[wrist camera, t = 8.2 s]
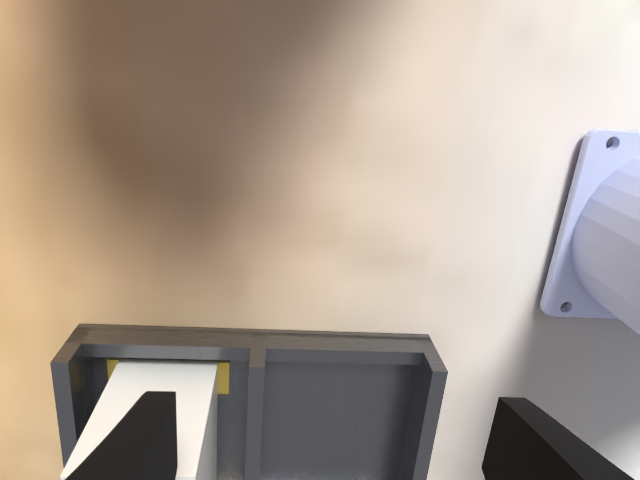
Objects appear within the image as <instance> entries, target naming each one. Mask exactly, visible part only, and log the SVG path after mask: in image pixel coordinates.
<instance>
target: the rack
mask: <svg viewBox="0 0 640 480" xmlns="http://www.w3.org/2000/svg"><path fill="white" fill-rule="evenodd" d="M119 359H141V360H177V361H213V362H218V403H217V477H216V480H426V478H427V473H428V468H429V463H430V459H431V454H432V449H433V444H434V439H435V434H436V429H437V424H438V419H439V414H440V409H441V404H442V399H443V394H444V389H445V384H446V379H447V374H448V371H447V369H446V367H445V365H444V364H443V362H442V360H441V358H440V356H439V354H438V352H437V350H436V348H435V346H434V344H433V343H432V341H431V339H430V337H429V335H427V334H395V333H362V332H330V331H297V330H265V329H232V328H200V327H167V326H135V325H102V324H79V325H78V326H77V327H76V329H75V330H74V331H73V333H72V334H71V335H70V337H69V338H68V340H67V341H66V342H65V344H64V345H63V346H62V348H61V349H60V350H59V352H58V353H57V354H56V356H55V357H54V359H53V360H52V361H51V371H52V379H53V387H54V394H55V402H56V410H57V418H58V426H59V434H60V441H61V449H62V457H63V465H64V468H65V466H66V464H67V462H68V460H69V458H70V456H71V454H72V452H73V450H74V448H75V446H76V444H77V442H78V440H79V438H80V436H81V434H82V432H83V430H84V428H85V426H86V424H87V422H88V420H89V418H90V417H91V415H92V413H93V411H94V409H95V407H96V405H97V403H98V401H99V399H100V397H101V395H102V393H103V391H104V389H105V387H106V385H107V383H108V381H109V379H110V377H111V375H112V373H113V371H114V369H115V367H116V365H117V363H118V361H119Z"/></svg>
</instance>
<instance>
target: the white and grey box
mask: <svg viewBox="0 0 640 480" xmlns="http://www.w3.org/2000/svg"><path fill="white" fill-rule="evenodd" d="M146 391H175V392H176V417H177V457H178V468H177V473H176V479H175V480H216V477H217V403H218V362H213V361H177V360H141V359H119V361H118V363H117V365H116V367H115V369H114V371H113V373H112V375H111V377H110V379H109V381H108V383H107V385H106V387H105V389H104V391H103V393H102V395H101V397H100V399H99V401H98V403H97V405H96V407H95V409H94V411H93V413H92V415H91V417H90V418H89V420H88V422H87V424H86V426H85V428H84V430H83V432H82V434H81V436H80V438H79V440H78V442H77V444H76V446H75V448H74V450H73V452H72V454H71V456H70V458H69V460H68V462H67V464H66V466H65V468H64V470H63V472H62V474H61V476H60V479H61V480H65V479H66V478H67V477H68V476H69V475H70V474H71V473H72V472H73V471H74V470H75V469H76V468H77V467H78V466H79V465H80V464H81V463H82V462H83V461H84V460H85V459H86V458H87V456H88V455H89V454H90V453H91V452H92V451H93V450H94V449H95V448H96V447H97V446H98V445H99V444H100V443H101V442H102V440H103V439H104V438H105V437H106V436H107V435H108V434H109V433H110V432H111V430H112V429H113V428H114V427H115V426H116V425H117V424H118V423H119V421H120V420H121V419H122V418H123V417H124V416H125V414H126V413H127V412H128V411H129V410H130V409H131V407H132V406H133V405H134V404H135V403H136V401H137V400H138V399H139V398H140V397H141V395H143V394H144V393H145V392H146Z"/></svg>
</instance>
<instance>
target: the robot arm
mask: <svg viewBox="0 0 640 480" xmlns="http://www.w3.org/2000/svg"><path fill="white" fill-rule="evenodd" d="M611 137H612V138H613V143H612V145H611V146H610V147H609V148H607V147H606V143H607V141H608V139H609V138H611ZM565 302H567V305H566V306H565V307H564V308H560V307H561V305H562V304H563V303H565ZM540 308H541V310H542V311H543V312H544V313H545V314H546V315H548V316H551V317H576V318H604V319H619V320H621V321H622V322H623V323H624V324H626V325H627V326H628V327H629V328H631V329H632V330H633V331H634V332H636V333H637V334H638V335H640V131H634V130H620V129H607V128H594V129H592V130H590V131H589V132H588V133H587V134H586V135H585V137H584V139H583V141H582V145H581V149H580V153H579V157H578V161H577V164H576V168H575V172H574V176H573V180H572V183H571V187H570V191H569V195H568V199H567V202H566V206H565V210H564V214H563V218H562V222H561V225H560V229H559V233H558V237H557V241H556V244H555V248H554V252H553V256H552V260H551V263H550V267H549V271H548V275H547V279H546V283H545V286H544V290H543V294H542V298H541V302H540ZM177 468H178V457H177V417H176V392H175V391H146V392H145V393H144V394H143V395H141V397H140V398H139V399H138V400H137V401H136V403H135V404H134V405H133V406H132V407H131V409H130V410H129V411H128V412H127V413H126V414H125V416H124V417H123V418H122V419H121V420H120V421H119V423H118V424H117V425H116V426H115V427H114V428H113V429H112V430H111V432H110V433H109V434H108V435H107V436H106V437H105V438H104V439H103V440H102V442H101V443H100V444H99V445H98V446H97V447H96V448H95V449H94V450H93V451H92V452H91V453H90V454H89V455H88V456H87V458H86V459H85V460H84V461H83V462H82V463H81V464H80V465H79V466H78V467H77V468H76V469H75V470H74V471H73V472H72V473H71V474H70V475H69V476H68V477H67V478H66V479H65V480H175V479H176V473H177ZM482 470H483V473H484V477H485V480H634V479H633V478H632V477H630V476H629V475H627V474H626V473H625V472H623V471H622V470H620V469H619V468H618V467H616V466H615V465H614V464H612V463H611V462H610V461H608V460H607V459H606V458H604V457H603V456H602V455H600V454H599V453H598V452H596V451H595V450H594V449H592V448H591V447H590V446H588V445H587V444H586V443H584V442H583V441H582V440H581V439H579V438H578V437H577V436H575V435H574V434H573V433H571V432H570V431H569V430H568V429H566V428H565V427H564V426H562V425H561V424H560V423H559V422H557V421H556V420H555V419H553V418H552V417H551V416H549V415H548V414H547V413H545V412H544V411H543V410H541V409H540V408H539V407H537V406H536V405H534V404H533V403H532V402H530V401H529V400H527V399H526V398H511V397H499V399H498V403H497V407H496V411H495V415H494V419H493V423H492V427H491V431H490V435H489V439H488V443H487V447H486V452H485V456H484V460H483V464H482Z"/></svg>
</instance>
